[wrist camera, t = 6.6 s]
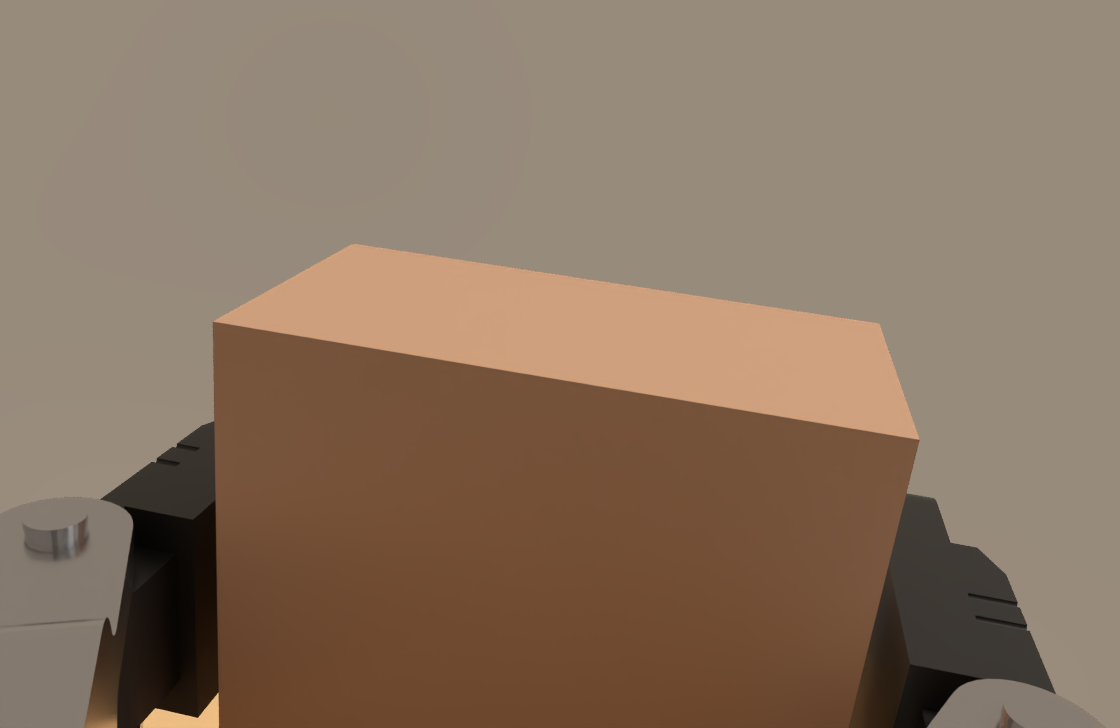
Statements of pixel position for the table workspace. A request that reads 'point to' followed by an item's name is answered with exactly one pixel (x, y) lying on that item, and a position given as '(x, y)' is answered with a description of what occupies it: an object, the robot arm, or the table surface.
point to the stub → (546, 502)
